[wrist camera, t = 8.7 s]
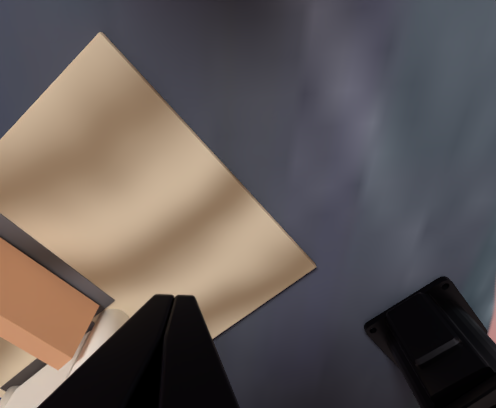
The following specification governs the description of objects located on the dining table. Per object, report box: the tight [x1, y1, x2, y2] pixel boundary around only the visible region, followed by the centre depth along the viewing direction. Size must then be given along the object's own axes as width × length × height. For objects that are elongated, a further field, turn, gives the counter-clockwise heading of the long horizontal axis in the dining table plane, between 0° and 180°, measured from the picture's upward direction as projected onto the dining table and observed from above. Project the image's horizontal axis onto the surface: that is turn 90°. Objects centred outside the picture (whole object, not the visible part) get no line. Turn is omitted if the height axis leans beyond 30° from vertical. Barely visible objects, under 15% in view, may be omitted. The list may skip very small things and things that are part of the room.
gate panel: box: [0, 238, 99, 370], centre depth 17 cm, size 2×9×5 cm, turn 42°
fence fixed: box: [0, 308, 129, 408], centre depth 21 cm, size 2×12×6 cm, turn 130°
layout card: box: [0, 32, 316, 398], centre depth 21 cm, size 17×24×1 cm
